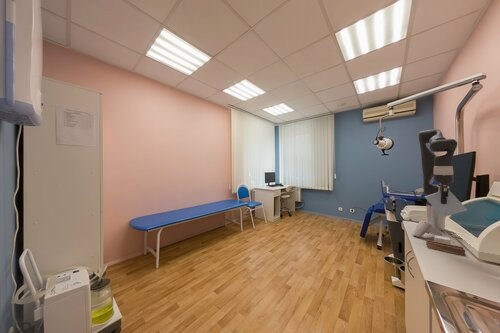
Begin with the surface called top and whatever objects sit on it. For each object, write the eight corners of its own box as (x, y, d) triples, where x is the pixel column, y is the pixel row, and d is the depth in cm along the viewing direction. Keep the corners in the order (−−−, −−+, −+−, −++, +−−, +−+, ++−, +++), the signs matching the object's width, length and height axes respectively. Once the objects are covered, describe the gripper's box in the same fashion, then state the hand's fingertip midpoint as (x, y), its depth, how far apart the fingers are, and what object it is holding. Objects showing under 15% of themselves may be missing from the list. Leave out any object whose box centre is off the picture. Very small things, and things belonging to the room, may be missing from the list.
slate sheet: (441, 216, 98) (424, 196, 103) (467, 209, 92) (447, 188, 96) (441, 217, 97) (424, 197, 102) (467, 210, 91) (448, 189, 95)
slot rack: (426, 244, 101) (426, 239, 101) (463, 252, 92) (463, 246, 92) (426, 247, 98) (426, 242, 98) (465, 255, 88) (465, 250, 88)
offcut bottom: (434, 242, 106) (433, 238, 106) (448, 244, 101) (448, 240, 101) (435, 245, 101) (435, 241, 101) (450, 248, 97) (450, 244, 97)
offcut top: (434, 238, 105) (434, 235, 105) (448, 241, 101) (448, 237, 101) (435, 240, 102) (435, 237, 102) (450, 243, 98) (450, 240, 98)
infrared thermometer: (446, 233, 109) (427, 221, 109) (434, 248, 110) (415, 236, 110) (438, 230, 114) (420, 218, 113) (427, 244, 115) (409, 232, 114)
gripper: (432, 173, 104) (432, 200, 105) (435, 174, 94) (435, 204, 95) (450, 173, 99) (451, 202, 100) (456, 174, 89) (456, 207, 90)
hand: (443, 203), depth 97 cm, fingers closed on slate sheet
